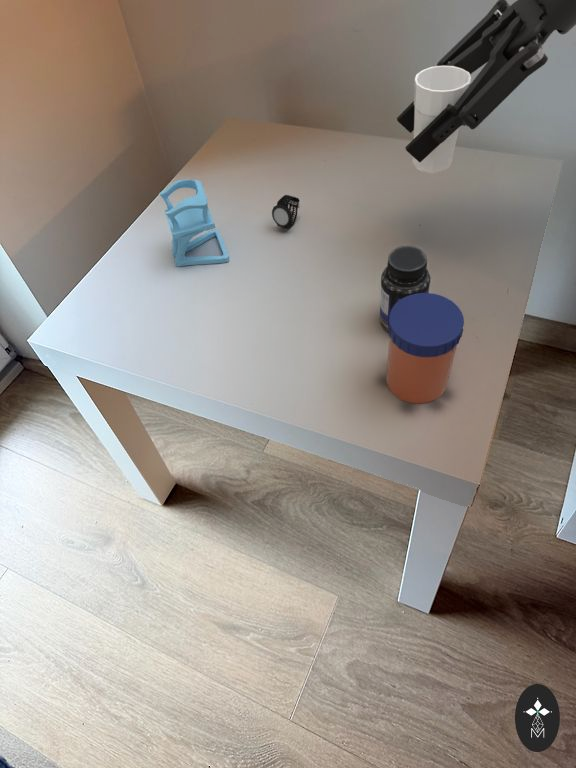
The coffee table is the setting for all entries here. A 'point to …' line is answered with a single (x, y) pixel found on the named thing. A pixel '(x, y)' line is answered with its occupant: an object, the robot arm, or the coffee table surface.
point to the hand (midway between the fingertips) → (408, 139)
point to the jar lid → (425, 325)
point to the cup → (437, 109)
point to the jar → (417, 374)
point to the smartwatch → (285, 211)
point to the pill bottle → (402, 278)
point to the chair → (191, 224)
